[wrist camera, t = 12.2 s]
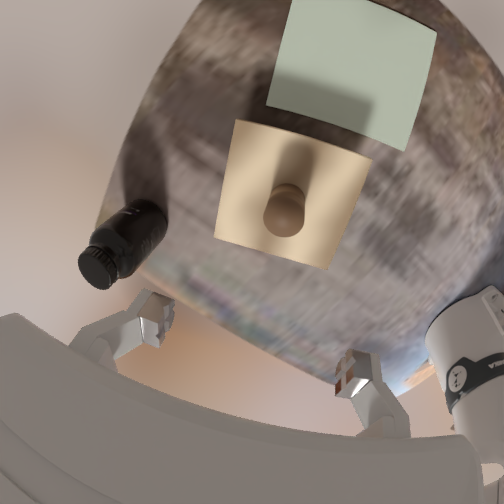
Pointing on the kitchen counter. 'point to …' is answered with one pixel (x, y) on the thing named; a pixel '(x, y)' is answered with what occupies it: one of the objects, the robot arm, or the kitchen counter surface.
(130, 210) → the supplement bottle
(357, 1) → the sage mat
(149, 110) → the kitchen counter surface
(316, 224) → the oak lid
